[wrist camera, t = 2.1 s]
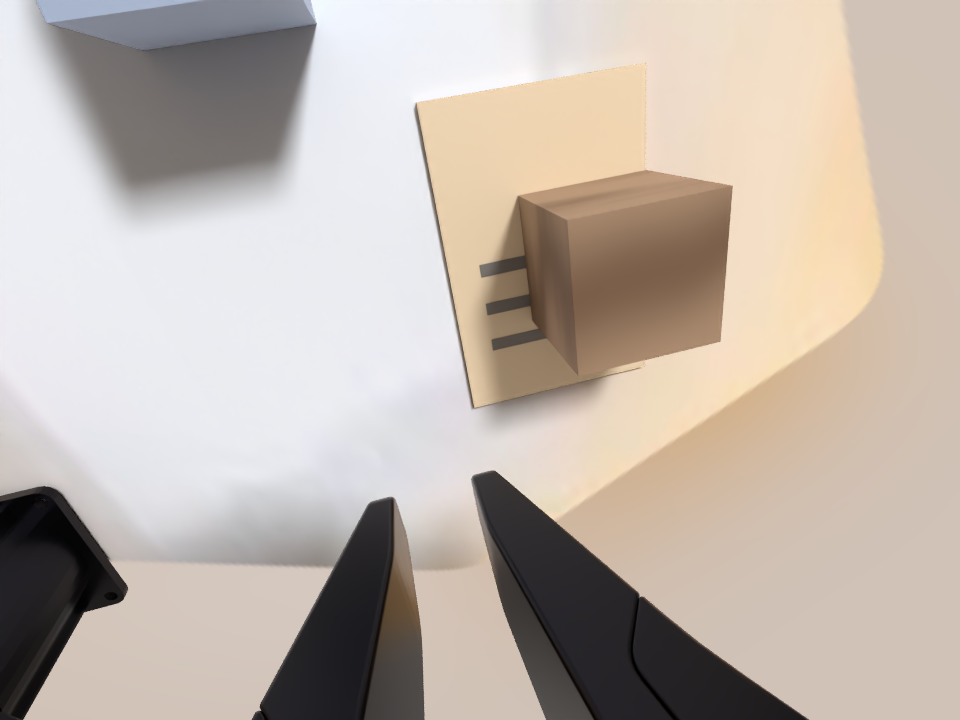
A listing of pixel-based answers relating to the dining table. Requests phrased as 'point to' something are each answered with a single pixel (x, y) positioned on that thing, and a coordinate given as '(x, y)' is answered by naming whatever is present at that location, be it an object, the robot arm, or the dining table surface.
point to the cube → (174, 19)
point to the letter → (495, 206)
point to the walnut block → (627, 266)
